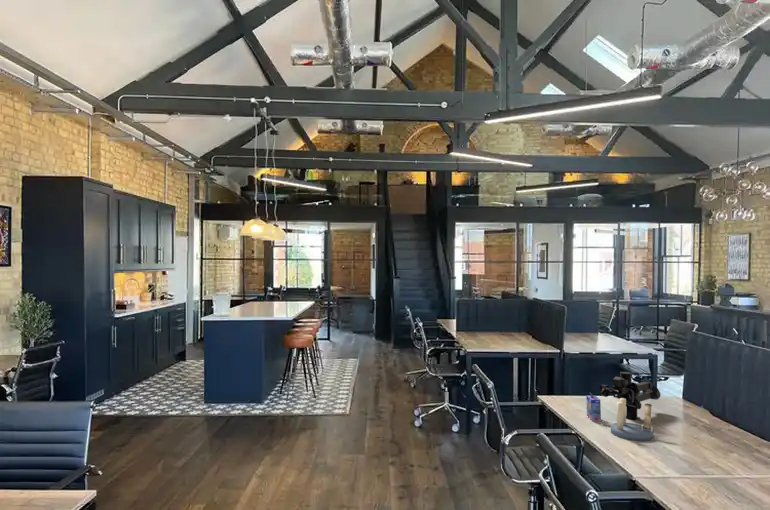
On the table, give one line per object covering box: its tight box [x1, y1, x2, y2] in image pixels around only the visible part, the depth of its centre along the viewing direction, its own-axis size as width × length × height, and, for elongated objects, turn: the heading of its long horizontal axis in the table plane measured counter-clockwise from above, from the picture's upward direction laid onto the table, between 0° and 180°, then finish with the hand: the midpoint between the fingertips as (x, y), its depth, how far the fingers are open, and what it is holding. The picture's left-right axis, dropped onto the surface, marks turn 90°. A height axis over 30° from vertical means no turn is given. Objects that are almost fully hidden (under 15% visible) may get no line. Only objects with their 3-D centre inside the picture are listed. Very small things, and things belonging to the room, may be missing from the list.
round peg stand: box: [610, 398, 655, 442], centre depth 265 cm, size 20×20×16 cm
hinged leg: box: [643, 403, 652, 430], centre depth 264 cm, size 3×3×13 cm
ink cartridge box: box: [585, 392, 602, 422], centre depth 292 cm, size 10×6×14 cm, turn 174°
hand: (608, 395), depth 280 cm, fingers open, 9 cm apart
